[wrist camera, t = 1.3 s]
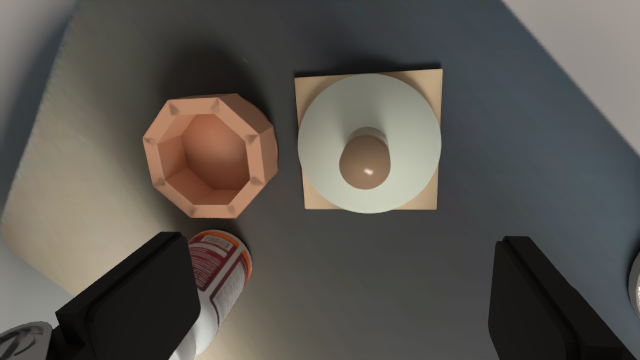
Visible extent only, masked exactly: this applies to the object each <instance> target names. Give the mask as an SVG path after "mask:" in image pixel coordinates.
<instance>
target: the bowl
mask: <svg viewBox="0 0 640 360" xmlns="http://www.w3.org/2000/svg"><path fill="white" fill-rule="evenodd" d="M142 139H143V143H144V147H145V152H146V156H147V161H148V165H149V170H150V174H151V179H152V183H153V186H154V187H155V188H156V189H157V190H158V191H160V192H161V193H162V194H163V195H164V196H166V197H167V198H168V199H169V200H170V201H171V202H173V203H174V204H175V205H176V206H177V207H179V208H180V209H181V210H182V211H183V212H185V213H186V214H187V215H188V216H189V217H191V218H237V216H238V215H239V214H240V213H241V212H242V211H243V210H244V209H245V208H246V207H247V206H248V204H249V203H250V202H251V201H252V200H253V199H254V198H255V197H256V195H257V194H258V193H259V192H260V191H261V190H262V189H263V188H264V187H265V185H266V184H267V183H268V182H269V181H270V180H271V179H272V178H273V176H274V175H275V174H276V173H277V172H278V167H277V163H278V156H279V147H278V141H277V137H276V134H275V131H274V129H273V125H272V124H271V123H270V121H269V120H268V118H267V117H266V116H265V114H264V113H263V112H262V111H261V110H260V109H259V108H258V107H256V106H255V105H254V104H252V103H251V102H249V101H248V100H246V99H243V98H242V97H240V96H239V95H238V94H237V93H233V94H212V95H197V96H188V97H182V98H176V99H171V100H168V101H167V102H166V104H165V105H164V107H163V108H162V110H161V111H160V113H159V114H158V116H157V117H156V119H155V120H154V122H153V123H152V125H151V126H150V128H149V129H148V131H147V132H146V134H145V135H144V137H143V138H142Z"/></svg>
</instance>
